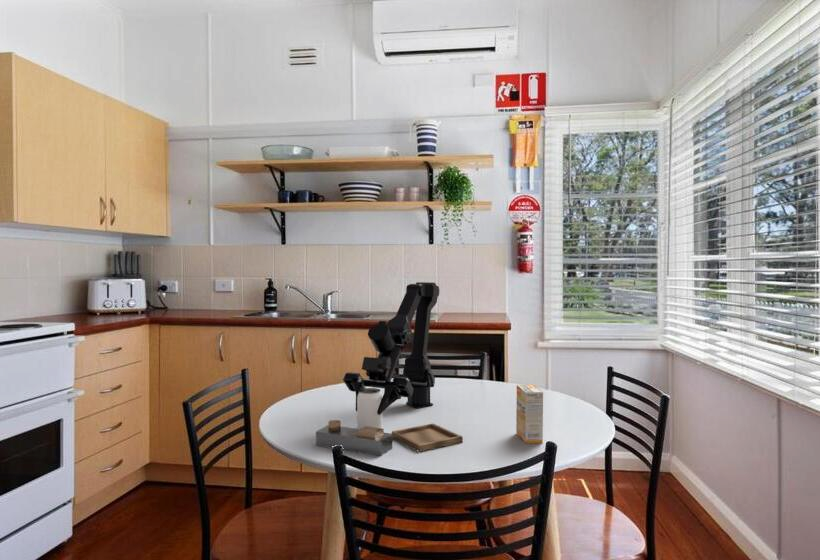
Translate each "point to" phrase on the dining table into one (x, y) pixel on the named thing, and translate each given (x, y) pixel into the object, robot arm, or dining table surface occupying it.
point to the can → (369, 408)
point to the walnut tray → (426, 437)
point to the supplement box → (529, 414)
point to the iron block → (354, 438)
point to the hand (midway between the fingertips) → (367, 412)
